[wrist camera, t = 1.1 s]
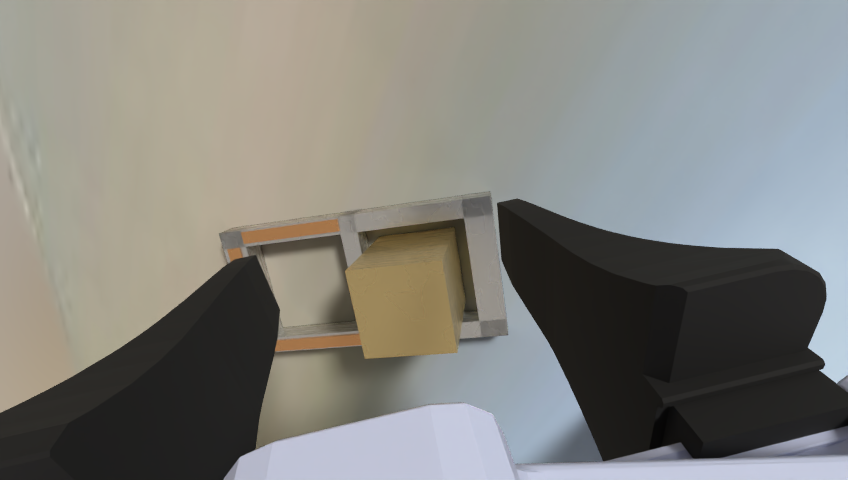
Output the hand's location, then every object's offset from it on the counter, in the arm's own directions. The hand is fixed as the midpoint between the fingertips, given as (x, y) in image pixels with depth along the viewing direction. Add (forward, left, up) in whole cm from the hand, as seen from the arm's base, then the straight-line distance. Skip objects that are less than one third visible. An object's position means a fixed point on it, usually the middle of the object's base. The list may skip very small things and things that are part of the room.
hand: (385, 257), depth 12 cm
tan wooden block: (-4, +1, -12) cm, 12 cm away
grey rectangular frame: (-4, +5, -11) cm, 13 cm away
